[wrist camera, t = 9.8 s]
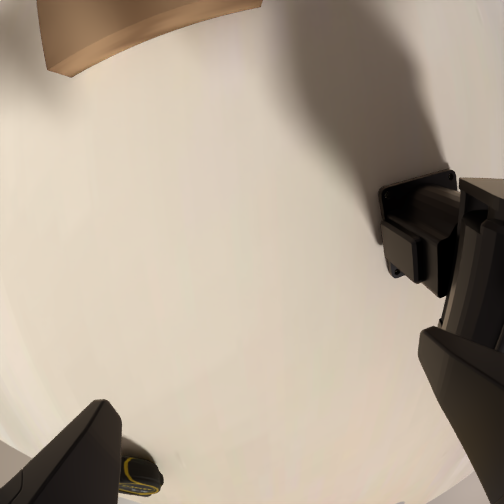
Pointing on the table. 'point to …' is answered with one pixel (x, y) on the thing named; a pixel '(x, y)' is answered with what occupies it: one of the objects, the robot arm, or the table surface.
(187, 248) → the table surface
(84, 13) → the walnut plinth
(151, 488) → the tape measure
